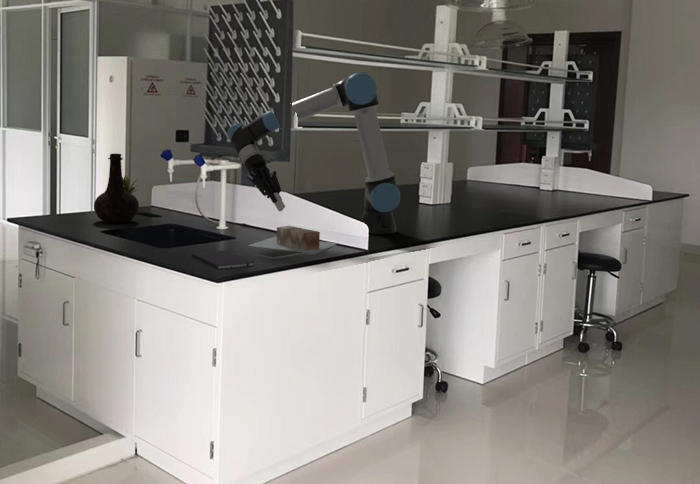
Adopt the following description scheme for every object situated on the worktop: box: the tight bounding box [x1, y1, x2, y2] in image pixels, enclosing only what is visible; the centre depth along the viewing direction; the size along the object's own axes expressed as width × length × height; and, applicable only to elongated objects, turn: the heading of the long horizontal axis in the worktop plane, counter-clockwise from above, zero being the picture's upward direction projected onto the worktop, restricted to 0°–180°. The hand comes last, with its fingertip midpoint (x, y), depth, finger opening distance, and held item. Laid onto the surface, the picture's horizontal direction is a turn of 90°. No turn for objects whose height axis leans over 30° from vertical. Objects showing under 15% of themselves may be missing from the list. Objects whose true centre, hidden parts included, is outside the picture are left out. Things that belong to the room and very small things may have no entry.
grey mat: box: [247, 235, 338, 256], centre depth 284 cm, size 22×26×1 cm
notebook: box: [191, 250, 254, 270], centre depth 255 cm, size 13×2×21 cm
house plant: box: [122, 174, 138, 195], centre depth 355 cm, size 14×14×16 cm
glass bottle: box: [93, 153, 140, 224], centre depth 319 cm, size 18×18×28 cm
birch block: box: [276, 225, 321, 250], centre depth 281 cm, size 6×6×16 cm
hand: (282, 208), depth 285 cm, fingers closed
